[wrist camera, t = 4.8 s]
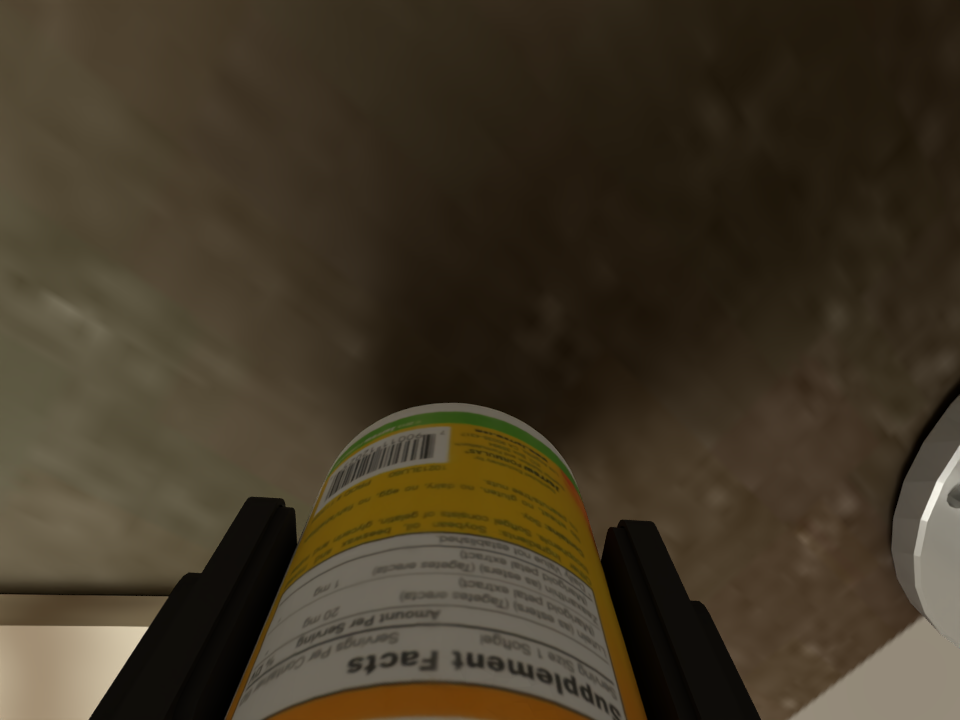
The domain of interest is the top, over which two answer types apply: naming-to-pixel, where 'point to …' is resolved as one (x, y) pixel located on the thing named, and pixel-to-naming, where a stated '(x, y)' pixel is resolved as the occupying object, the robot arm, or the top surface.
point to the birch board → (66, 651)
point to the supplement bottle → (443, 586)
